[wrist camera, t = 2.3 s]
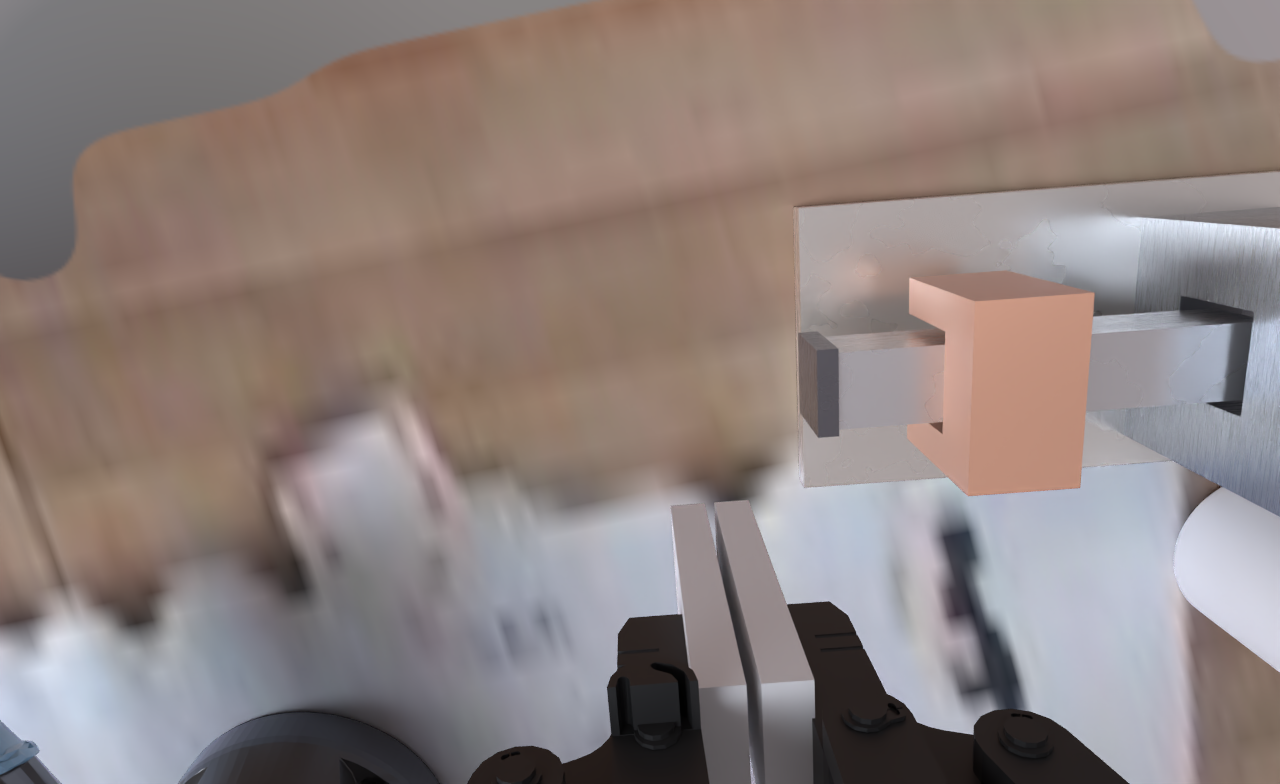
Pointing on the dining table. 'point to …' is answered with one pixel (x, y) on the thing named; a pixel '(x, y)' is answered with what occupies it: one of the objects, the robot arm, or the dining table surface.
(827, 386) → the shaft
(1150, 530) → the dining table surface
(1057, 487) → the block
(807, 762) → the robot arm
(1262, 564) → the beverage can
